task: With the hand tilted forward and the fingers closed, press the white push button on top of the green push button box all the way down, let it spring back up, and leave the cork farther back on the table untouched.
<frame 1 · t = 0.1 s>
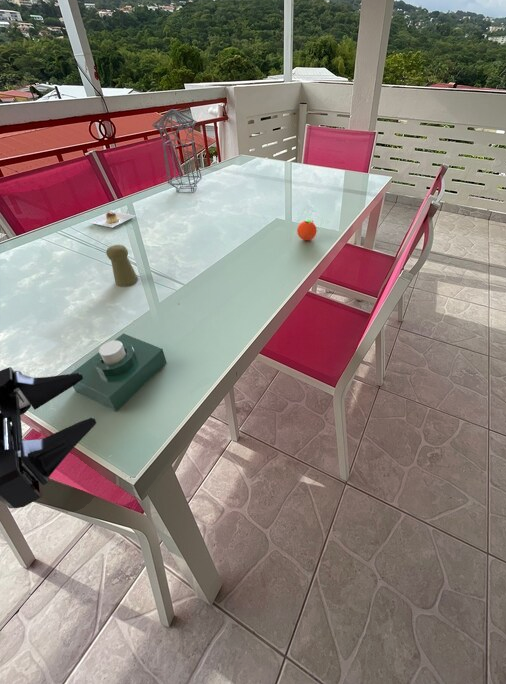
hand: (88, 396, 46), 14 cm above the table, tool horizontal, fingers open, 9 cm apart
geometric lantern: (187, 190, 161), on the table
dessert: (113, 222, 129), on the table
cork: (127, 281, 95), on the table
green push button box: (123, 376, 67), on the table
clementine: (307, 239, 119), on the table
white push button: (112, 352, 63), point 7 cm above the table, slide at 0.1 cm
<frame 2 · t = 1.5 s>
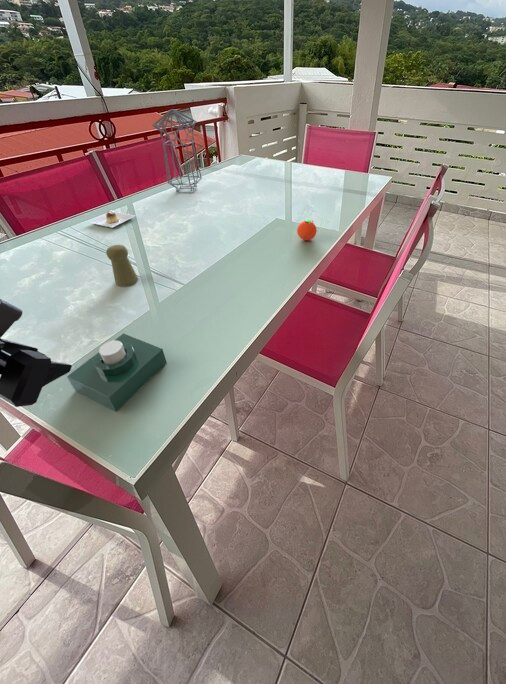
hand: (53, 359, 52), 14 cm above the table, tool tilted 45°, fingers open, 8 cm apart
nothing on the table moved.
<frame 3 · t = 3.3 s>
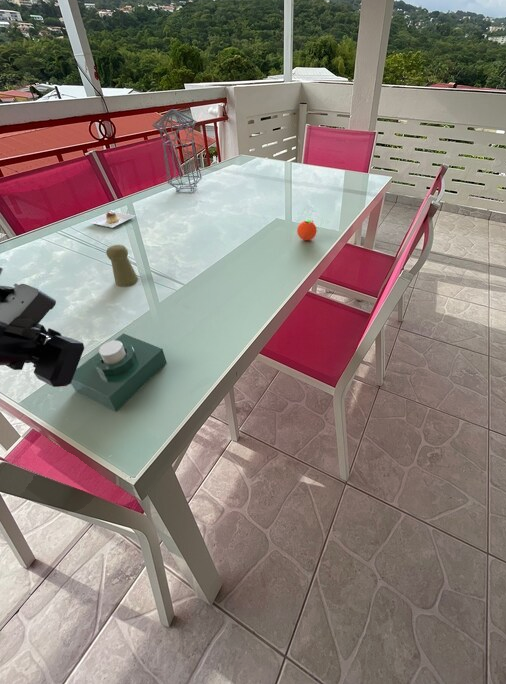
hand: (79, 347, 56), 13 cm above the table, tool tilted 45°, fingers closed
nothing on the table moved.
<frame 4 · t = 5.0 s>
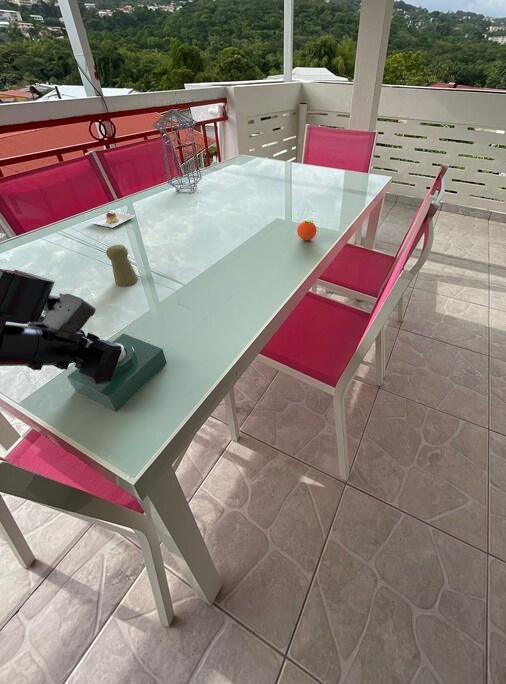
hand: (111, 349, 62), 8 cm above the table, tool tilted 45°, fingers closed, pressing on white push button
white push button: (113, 355, 63), point 6 cm above the table, slide at -0.7 cm, touching gripper
everything else where it was.
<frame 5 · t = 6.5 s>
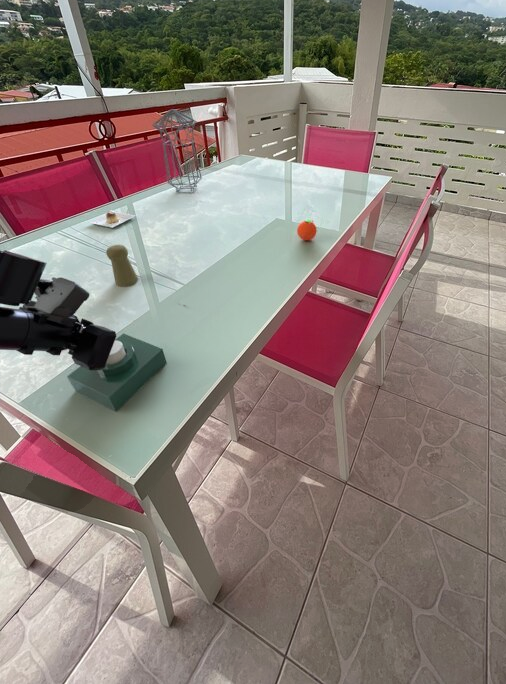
hand: (106, 337, 61), 11 cm above the table, tool tilted 45°, fingers closed
white push button: (112, 352, 63), point 7 cm above the table, slide at 0.1 cm
everything else where it was.
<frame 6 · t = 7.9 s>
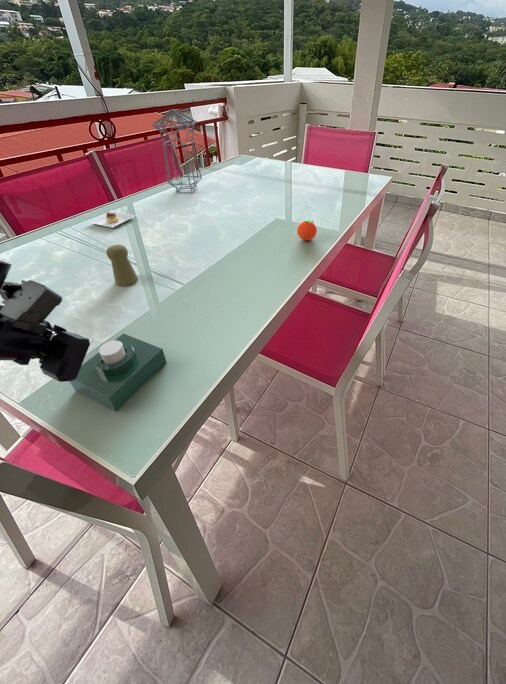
hand: (83, 344, 57), 12 cm above the table, tool tilted 45°, fingers closed
nothing on the table moved.
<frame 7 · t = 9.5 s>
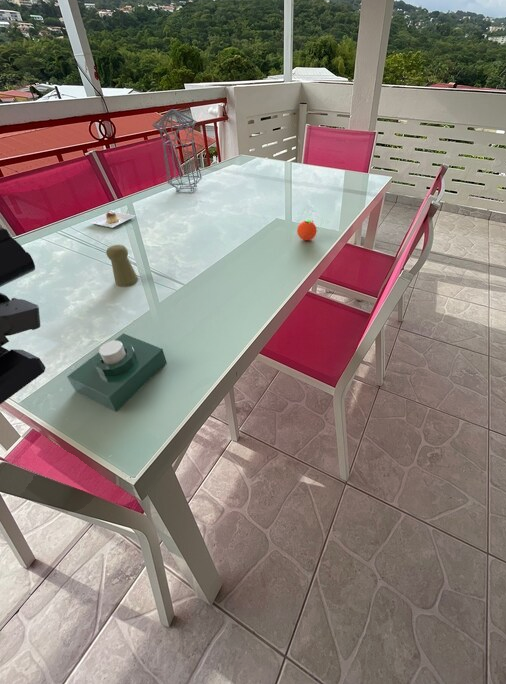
hand: (7, 397, 47), 13 cm above the table, tool pointing down, fingers closed
nothing on the table moved.
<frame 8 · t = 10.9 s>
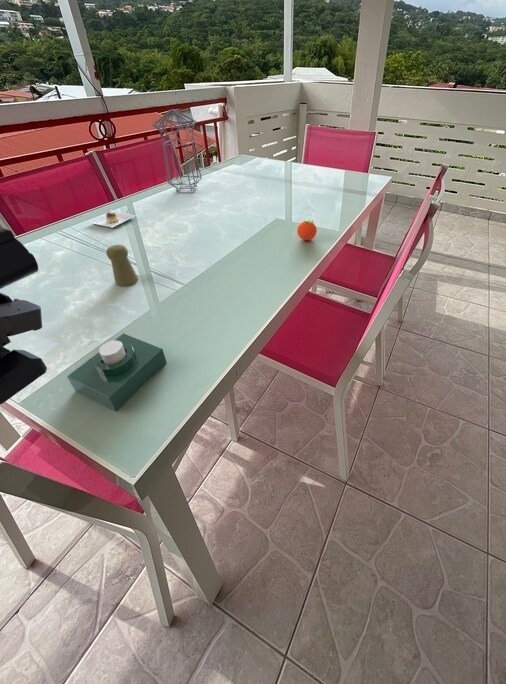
hand: (7, 397, 47), 13 cm above the table, tool pointing down, fingers closed
nothing on the table moved.
at the end: white push button pushed in 1.2 cm at the most during the clip, back to where it started at the end; white push button slide at 0.1 cm; cork moved 0.2 cm from its start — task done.
